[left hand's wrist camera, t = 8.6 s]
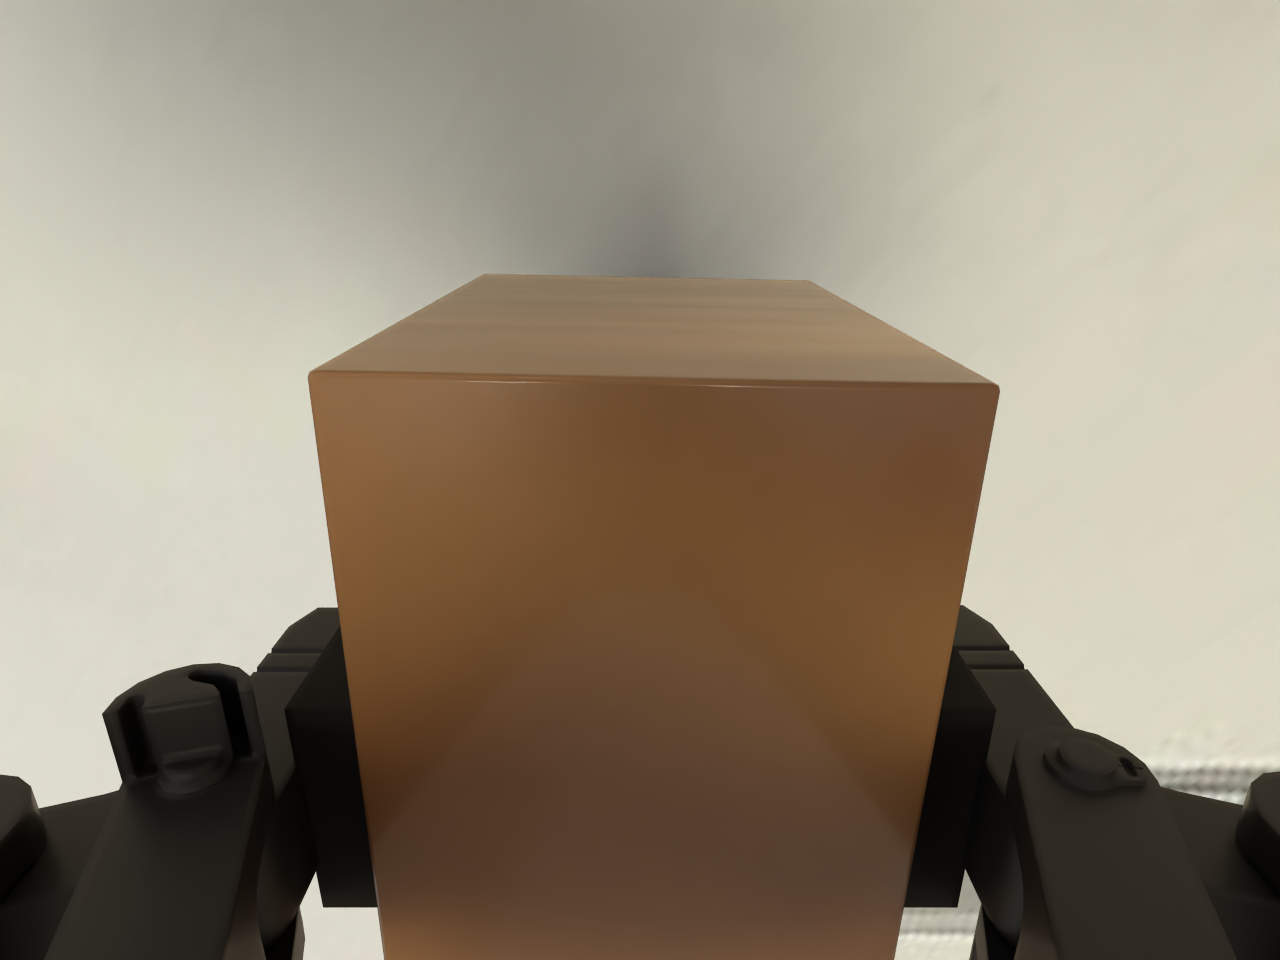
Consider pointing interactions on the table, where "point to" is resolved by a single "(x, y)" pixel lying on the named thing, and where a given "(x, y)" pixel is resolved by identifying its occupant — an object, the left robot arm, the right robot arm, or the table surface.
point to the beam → (646, 613)
